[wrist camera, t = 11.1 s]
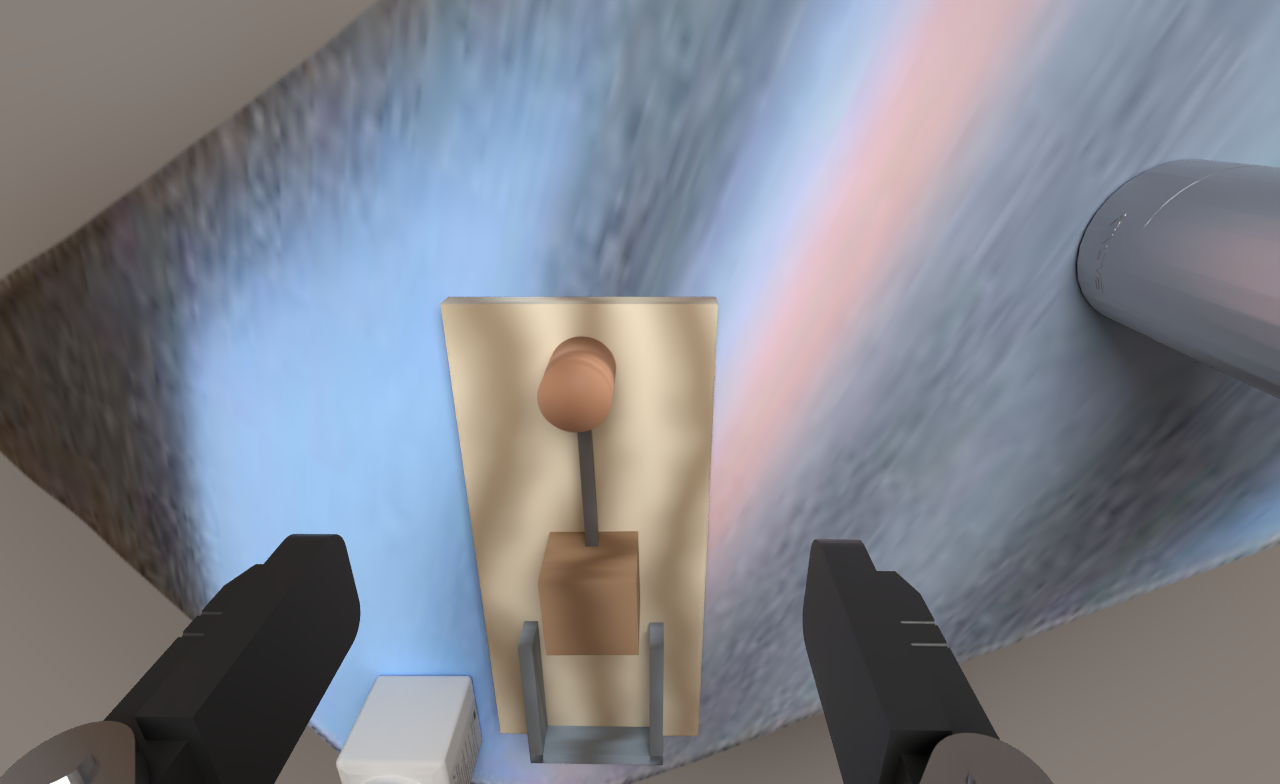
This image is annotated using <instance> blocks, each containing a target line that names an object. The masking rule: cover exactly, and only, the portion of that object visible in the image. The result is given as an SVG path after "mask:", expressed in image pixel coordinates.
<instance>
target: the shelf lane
mask: <svg viewBox="0 0 1280 784" xmlns="http://www.w3.org/2000/svg"><path fill="white" fill-rule="evenodd" d="M441 311H442V319H443V326H444V333H445V340H446V347H447V354H448V361H449V368H450V375H451V383H452V390H453V397H454V404H455V411H456V418H457V425H458V432H459V440H460V447H461V454H462V461H463V468H464V475H465V482H466V489H467V496H468V504H469V511H470V518H471V525H472V532H473V539H474V546H475V553H476V560H477V568H478V575H479V582H480V589H481V596H482V603H483V610H484V617H485V625H486V632H487V639H488V646H489V653H490V660H491V667H492V674H493V681H494V689H495V696H496V703H497V710H498V717H499V724H500V731H501V733H517V734H528V742H529V751H530V760H531V763H570V764H635V765H662V764H663V736H698V727H699V705H700V683H701V662H702V640H703V618H704V596H705V575H706V553H707V531H708V509H709V488H710V466H711V444H712V422H713V401H714V379H715V357H716V335H717V314H718V303H717V300H716V297H448V298H447V299H446V300H444V301H443V302H442V303H441ZM579 336H584V337H590V338H594V339H596V340H598V341H600V342H602V343H603V344H604V345H606V347H607V348H608V349H609V350H610V351H611V353H612V354H613V356H614V359H615V362H616V375H615V382H614V389H613V396H612V403H611V409H610V412H609V414H608V416H607V417H606V419H605V420H604V421H603V422H602V423H601V424H600V425H599V426H597V427H595V428H594V429H592V438H593V454H594V470H595V486H596V501H597V517H598V532H607V531H638V544H639V575H640V628H639V655H546V650H545V641H544V633H543V624H542V615H541V607H540V598H539V590H538V579H539V575H540V571H541V567H542V563H543V558H544V554H545V550H546V546H547V542H548V538H549V534H550V532H585V530H584V516H583V503H582V489H581V476H580V462H579V449H578V436H577V433H576V432H567V431H564V430H561V429H559V428H557V427H555V426H553V425H552V424H551V423H549V422H548V421H547V420H546V419H545V417H544V416H543V415H542V413H541V411H540V409H539V406H538V401H537V393H538V388H539V385H540V383H541V380H542V378H543V376H544V373H545V371H546V368H547V366H548V363H549V361H550V358H551V356H552V354H553V352H554V350H555V349H556V348H557V346H558V345H559V344H561V343H562V342H563V341H565V340H567V339H570V338H573V337H579Z"/></svg>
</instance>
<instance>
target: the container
mask: <svg viewBox="0 0 1280 784" xmlns="http://www.w3.org/2000/svg"><path fill="white" fill-rule="evenodd" d="M481 742H482V737H481V731H480V725H479V720H478V714H477V708H476V702H475V697H474V691H473V685H472V679H471V678H470V677H469V676H394V675H382V676H379V677H377V679H376V680H375V682H374V684H373V686H372V689H371V691H370V693H369V695H368V697H367V699H366V701H365V703H364V705H363V707H362V709H361V711H360V713H359V715H358V717H357V719H356V722H355V724H354V726H353V728H352V730H351V732H350V734H349V736H348V738H347V740H346V742H345V744H344V746H343V748H342V750H341V753H340V755H339V757H338V759H337V762H336V766H337V770H338V772H339V776H340V779H341V782H342V784H470V783H471V779H472V775H473V771H474V768H475V764H476V760H477V757H478V753H479V749H480V746H481Z"/></svg>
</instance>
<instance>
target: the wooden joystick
mask: <svg viewBox="0 0 1280 784" xmlns="http://www.w3.org/2000/svg"><path fill="white" fill-rule="evenodd" d="M615 375H616V362H615V359H614V356H613V354H612V353H611V351H610V350H609V349H608V348H607V347H606V345H604V344H603V343H602V342H600V341H598V340H596V339H594V338H590V337H584V336H579V337H573V338H570V339H567V340H565V341H563V342H562V343H561V344H559V345H558V346H557V348H556V349H555V350H554V352H553V354H552V356H551V358H550V361H549V363H548V366H547V368H546V371H545V373H544V376H543V378H542V380H541V383H540V385H539V388H538V393H537V401H538V406H539V409H540V411H541V413H542V415H543V416H544V417H545V419H546V420H547V421H548V422H549V423H551V424H552V425H553V426H555V427H557V428H559V429H561V430H564V431H567V432H576V433H577V436H578V449H579V462H580V476H581V489H582V503H583V516H584V530H585V532H550V534H549V538H548V542H547V546H546V550H545V554H544V558H543V563H542V567H541V571H540V575H539V579H538V590H539V598H540V607H541V615H542V624H543V633H544V641H545V650H546V655H639V628H640V575H639V544H638V531H607V532H598V517H597V501H596V486H595V470H594V454H593V438H592V429H594V428H595V427H597V426H599V425H600V424H601V423H602V422H603V421H604V420H605V419H606V417H607V416H608V414H609V412H610V409H611V403H612V396H613V389H614V382H615Z"/></svg>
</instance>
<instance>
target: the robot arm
mask: <svg viewBox="0 0 1280 784" xmlns="http://www.w3.org/2000/svg"><path fill="white" fill-rule="evenodd" d="M1077 269H1078V280H1079V284H1080V287H1081V290H1082V293H1083V295H1084V296H1085V298H1086V299H1087V301H1088V302H1089V304H1090V305H1091V306H1092V307H1093V308H1094V309H1096V310H1097V311H1098V312H1099V313H1100V314H1102V315H1104V316H1106V317H1108V318H1110V319H1112V320H1114V321H1116V322H1118V323H1121V324H1123V325H1125V326H1127V327H1129V328H1131V329H1133V330H1135V331H1137V332H1139V333H1141V334H1144V335H1146V336H1148V337H1150V338H1152V339H1153V340H1155V341H1157V342H1160V343H1162V344H1164V345H1166V346H1168V347H1170V348H1172V349H1174V350H1177V351H1179V352H1181V353H1183V354H1185V355H1187V356H1189V357H1192V358H1194V359H1196V360H1198V361H1200V362H1202V363H1204V364H1206V365H1209V366H1211V367H1213V368H1215V369H1217V370H1219V371H1221V372H1223V373H1226V374H1228V375H1230V376H1232V377H1234V378H1236V379H1238V380H1241V381H1243V382H1245V383H1247V384H1249V385H1251V386H1253V387H1255V388H1258V389H1260V390H1262V391H1264V392H1266V393H1268V394H1270V395H1272V396H1275V397H1277V398H1279V399H1280V168H1276V167H1268V166H1259V165H1249V164H1239V163H1229V162H1219V161H1209V160H1179V161H1174V162H1169V163H1164V164H1162V165H1159V166H1157V167H1154V168H1152V169H1149V170H1147V171H1144V172H1143V173H1141V174H1139V175H1138V176H1136V177H1135V178H1133V179H1131V180H1130V181H1128V182H1126V183H1125V184H1124V185H1123V186H1122V187H1121V188H1119V189H1118V190H1117V191H1116V192H1115V193H1114V194H1112V195H1111V196H1110V197H1109V198H1108V200H1107V201H1106V202H1105V203H1104V204H1103V205H1102V207H1101V208H1100V209H1099V210H1098V211H1097V213H1096V214H1095V216H1094V218H1093V219H1092V221H1091V223H1090V224H1089V226H1088V228H1087V229H1086V232H1085V235H1084V237H1083V240H1082V242H1081V245H1080V249H1079V255H1078V261H1077ZM359 622H360V602H359V598H358V594H357V590H356V586H355V582H354V578H353V573H352V569H351V565H350V561H349V557H348V553H347V549H346V545H345V542H344V540H343V538H342V537H341V536H339V535H337V534H292V535H290V536H288V537H287V538H286V539H285V540H284V541H283V542H282V543H281V544H280V545H279V547H278V548H277V549H276V550H275V551H274V552H273V554H272V555H271V556H270V557H269V558H268V560H267V561H266V562H265V563H264V564H255V565H254V566H252V567H251V568H250V569H248V570H247V571H245V572H244V573H242V574H241V575H239V576H238V577H236V578H235V579H233V580H232V581H230V582H229V583H227V584H226V585H224V586H223V588H222V589H221V590H220V591H219V592H218V593H217V594H216V595H215V597H214V598H213V599H212V600H211V601H210V602H209V603H208V604H207V605H206V607H205V608H204V609H203V610H202V614H201V616H197V617H196V618H195V619H194V620H193V621H192V622H191V623H190V625H189V626H188V627H187V628H186V629H185V630H184V631H183V636H182V637H178V638H177V639H176V640H175V641H174V642H173V644H172V645H171V646H170V647H169V648H168V649H167V650H166V651H165V652H164V654H163V655H162V656H161V657H160V658H159V659H158V660H157V661H156V663H155V664H154V665H153V666H152V667H151V668H150V669H149V670H148V671H147V673H146V674H145V675H144V676H143V677H142V678H141V679H140V681H139V682H138V683H137V684H136V685H135V686H134V687H133V688H132V689H131V691H130V692H129V693H128V694H127V695H126V696H125V697H124V698H123V699H122V700H121V702H120V703H119V704H118V705H117V706H116V707H115V708H114V709H113V711H112V712H111V713H110V714H109V715H108V716H107V717H106V718H105V719H104V720H103V721H99V722H92V723H88V724H84V725H80V726H77V727H75V728H72V729H69V730H67V731H64V732H62V733H60V734H58V735H56V736H54V737H52V738H50V739H49V740H47V741H45V742H43V743H41V744H40V745H38V746H37V747H35V748H34V749H32V750H31V751H29V752H28V753H27V754H25V755H24V756H23V757H21V758H20V759H19V760H18V761H16V762H15V763H14V764H13V765H12V766H11V767H10V768H9V769H8V770H7V771H6V772H5V773H4V774H3V775H2V776H1V777H0V784H274V783H275V781H276V779H277V778H278V776H279V774H280V772H281V770H282V769H283V767H284V765H285V763H286V762H287V760H288V758H289V756H290V754H291V753H292V751H293V749H294V747H295V745H296V744H297V742H298V740H299V738H300V737H301V735H302V733H303V731H304V729H305V728H306V726H307V724H308V722H309V720H310V719H311V717H312V715H313V713H314V712H315V710H316V708H317V706H318V704H319V703H320V701H321V699H322V697H323V695H324V694H325V692H326V690H327V688H328V687H329V685H330V683H331V681H332V679H333V678H334V676H335V674H336V672H337V671H338V669H339V667H340V665H341V663H342V662H343V660H344V658H345V656H346V654H347V653H348V651H349V649H350V647H351V646H352V644H353V642H354V640H355V637H356V635H357V631H358V627H359ZM803 633H804V641H805V646H806V650H807V654H808V657H809V661H810V664H811V668H812V672H813V675H814V679H815V682H816V686H817V689H818V693H819V697H820V700H821V704H822V707H823V711H824V714H825V718H826V722H827V725H828V729H829V732H830V736H831V739H832V743H833V746H834V750H835V753H836V757H837V761H838V764H839V768H840V772H841V775H842V779H843V782H844V784H1053V783H1052V781H1051V780H1050V778H1049V777H1048V776H1047V775H1046V773H1045V772H1044V771H1043V770H1042V769H1041V768H1040V767H1039V766H1038V765H1037V764H1036V763H1035V762H1034V761H1032V760H1031V759H1030V758H1029V757H1028V756H1026V755H1025V754H1024V753H1022V752H1021V751H1019V750H1018V749H1016V748H1014V747H1013V746H1011V745H1009V744H1007V743H1005V742H1003V741H1001V740H1000V739H999V737H998V736H997V734H996V732H995V730H994V729H993V727H992V725H991V723H990V721H989V719H988V718H987V716H986V714H985V712H984V710H983V708H982V706H981V705H980V703H979V701H978V699H977V697H976V696H975V694H974V692H973V690H972V688H971V686H970V685H969V683H968V681H967V679H966V677H965V675H964V673H963V672H962V670H961V668H960V666H959V664H958V662H957V661H956V659H955V657H954V655H953V653H952V651H951V650H950V648H947V645H946V640H945V638H944V637H943V635H942V633H941V631H940V629H939V627H938V626H937V625H935V623H934V618H933V616H932V615H931V613H930V611H929V609H928V607H927V605H926V604H925V602H924V600H923V598H922V596H921V594H920V593H919V592H918V591H916V590H915V589H914V588H913V587H912V586H911V585H910V584H909V583H908V582H906V581H905V580H904V579H903V578H902V577H901V576H900V575H899V574H898V573H896V572H895V571H876V569H875V567H874V565H873V563H872V561H871V558H870V556H869V554H868V552H867V550H866V548H865V546H864V544H863V543H862V541H860V540H828V539H815V540H814V541H813V543H812V546H811V551H810V559H809V567H808V574H807V582H806V590H805V598H804V605H803Z"/></svg>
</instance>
